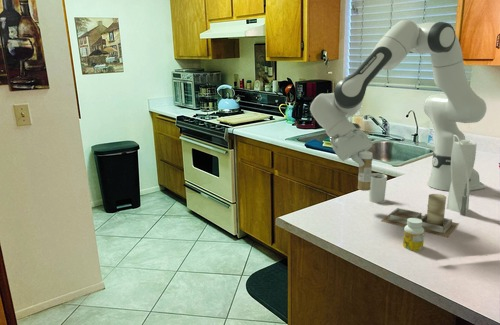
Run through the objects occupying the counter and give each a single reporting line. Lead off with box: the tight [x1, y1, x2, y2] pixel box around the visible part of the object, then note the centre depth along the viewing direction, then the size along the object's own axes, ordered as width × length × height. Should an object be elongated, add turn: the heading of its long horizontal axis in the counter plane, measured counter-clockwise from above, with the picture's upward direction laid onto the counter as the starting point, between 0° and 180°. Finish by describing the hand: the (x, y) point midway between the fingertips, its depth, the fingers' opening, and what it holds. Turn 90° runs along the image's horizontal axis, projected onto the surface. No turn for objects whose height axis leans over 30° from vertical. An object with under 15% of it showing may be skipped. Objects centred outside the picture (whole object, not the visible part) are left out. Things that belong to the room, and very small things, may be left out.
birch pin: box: [426, 193, 447, 227], centre depth 128 cm, size 5×5×10 cm
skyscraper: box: [445, 135, 477, 217], centre depth 139 cm, size 8×8×28 cm
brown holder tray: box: [380, 207, 460, 238], centre depth 132 cm, size 21×13×3 cm, turn 50°
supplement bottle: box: [402, 218, 425, 252], centre depth 115 cm, size 5×5×10 cm
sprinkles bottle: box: [357, 150, 374, 192], centre depth 141 cm, size 5×5×13 cm
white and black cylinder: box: [368, 172, 388, 204], centre depth 157 cm, size 7×7×10 cm
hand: (367, 163), depth 140 cm, fingers closed on sprinkles bottle, 4 cm apart
